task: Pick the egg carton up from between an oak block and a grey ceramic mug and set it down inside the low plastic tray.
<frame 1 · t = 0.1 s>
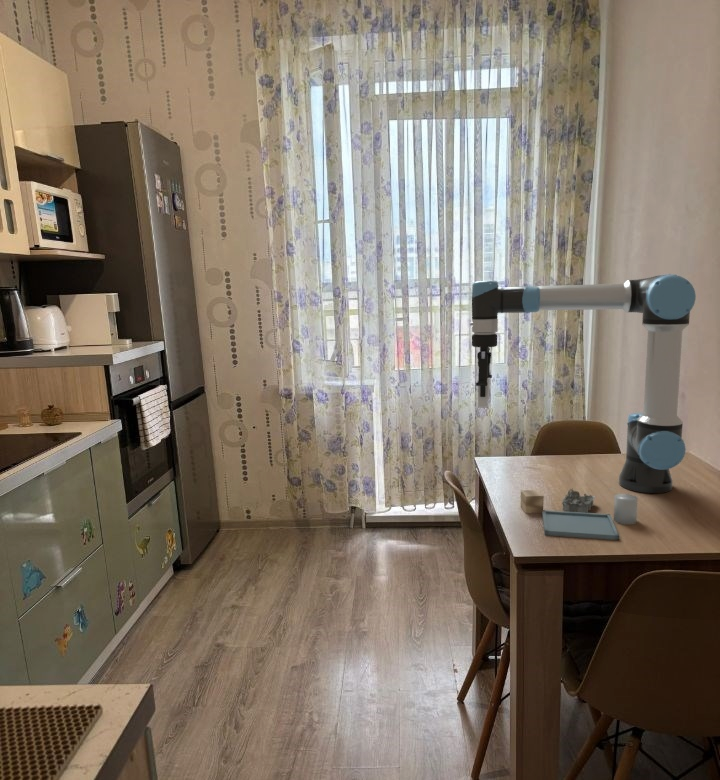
hand: (484, 403, 183), 28 cm above the table, fingers open, 13 cm apart
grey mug: (625, 520, 161), on the table
tray: (578, 526, 158), on the table
oak block: (531, 509, 171), on the table
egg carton: (578, 508, 172), on the table
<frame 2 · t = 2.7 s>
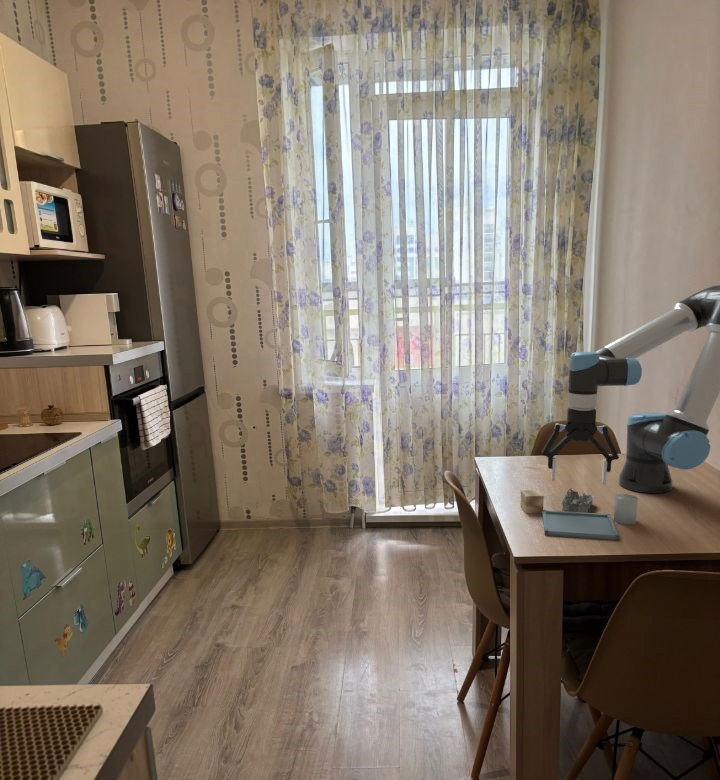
hand: (578, 481, 170), 8 cm above the table, fingers open, 13 cm apart
nothing on the table moved.
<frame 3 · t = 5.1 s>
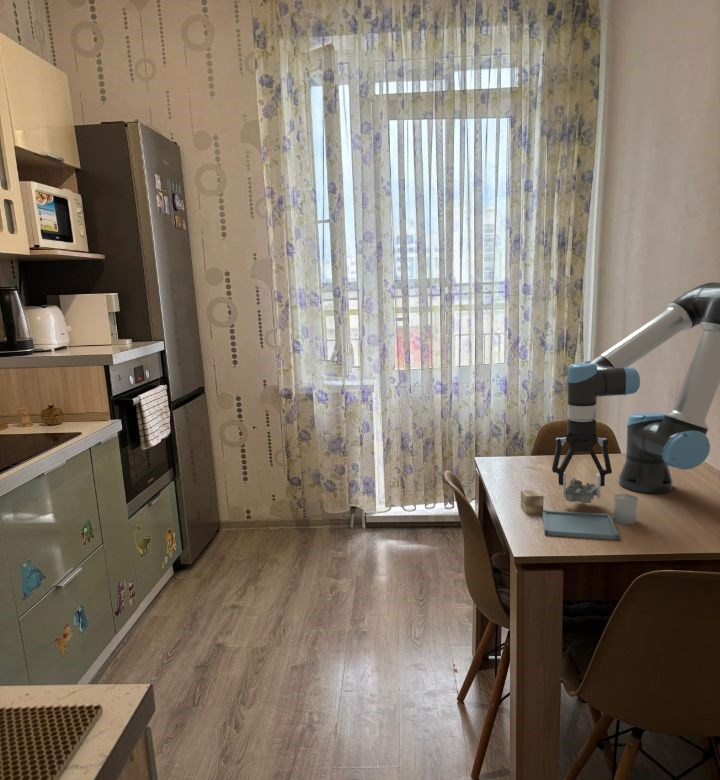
hand: (581, 496, 171), 3 cm above the table, fingers closed on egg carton, 8 cm apart
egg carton: (581, 498, 171), point 3 cm above the table, touching gripper
everything else where it was.
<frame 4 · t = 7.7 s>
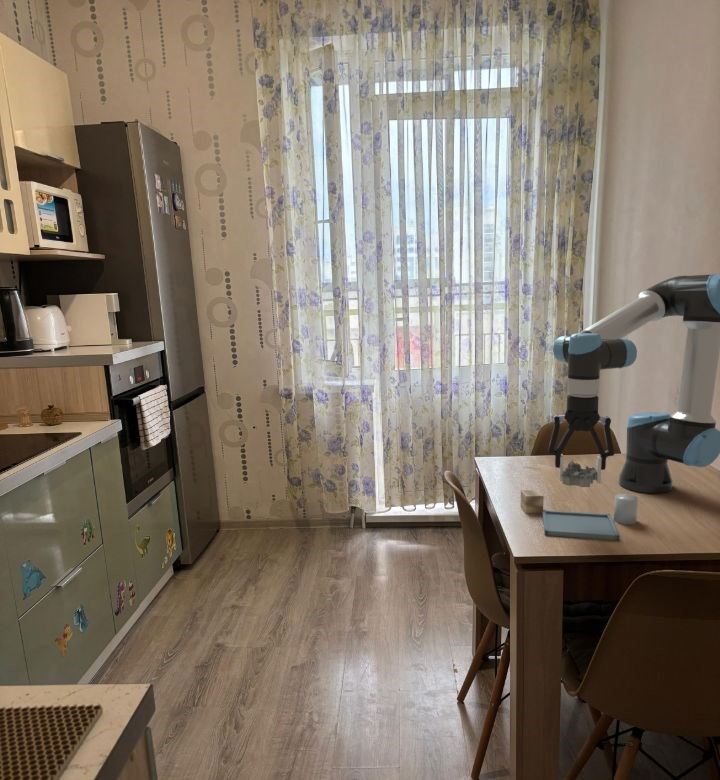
hand: (579, 480, 156), 13 cm above the table, fingers closed on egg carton, 8 cm apart
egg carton: (579, 482, 156), point 12 cm above the table, touching gripper
everything else where it was.
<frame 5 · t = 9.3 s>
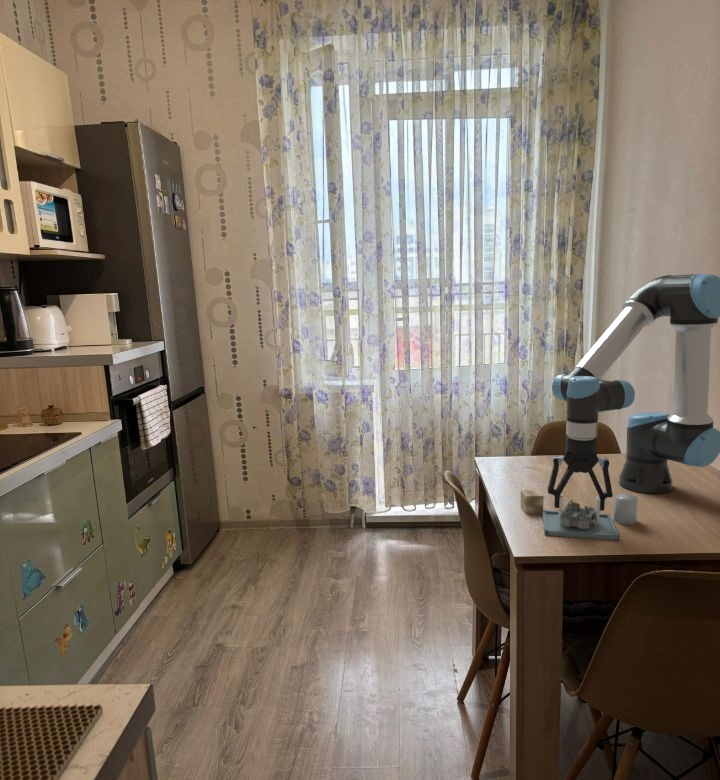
hand: (578, 520, 158), 2 cm above the table, fingers closed on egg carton, 8 cm apart
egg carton: (578, 522, 158), point 1 cm above the table, touching gripper
everything else where it was.
when the fingers open (2 cm above the table, at t = 10.4 s): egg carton stays where it is, resting on tray.
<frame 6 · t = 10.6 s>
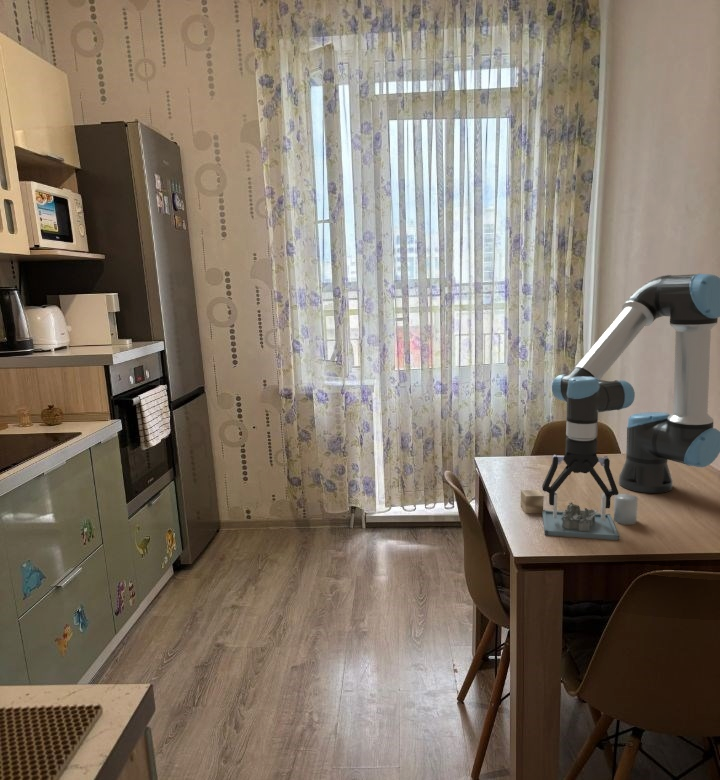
hand: (578, 518, 158), 2 cm above the table, fingers open, 11 cm apart
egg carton: (579, 524, 158), resting on tray
everything else where it was.
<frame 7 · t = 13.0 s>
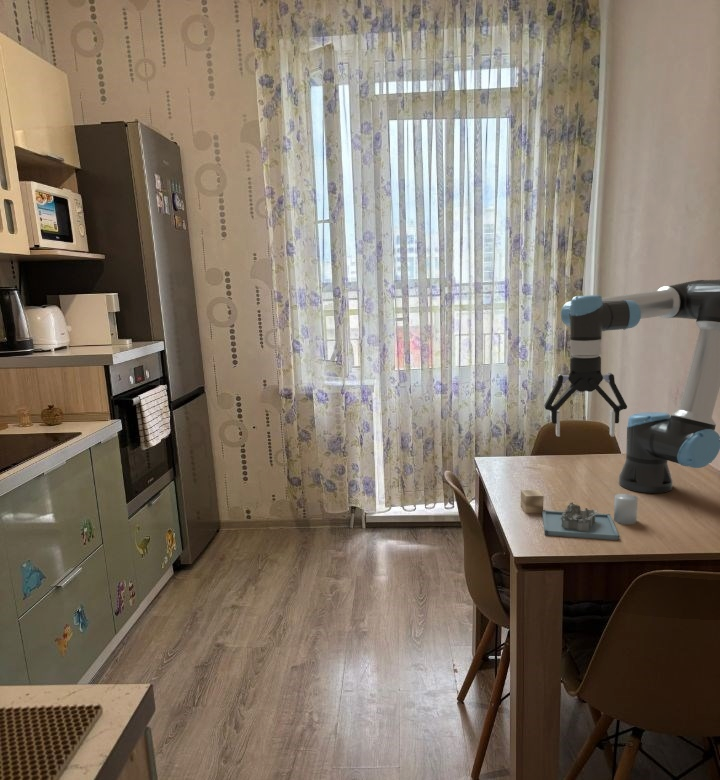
hand: (584, 435, 159), 23 cm above the table, fingers open, 13 cm apart
nothing on the table moved.
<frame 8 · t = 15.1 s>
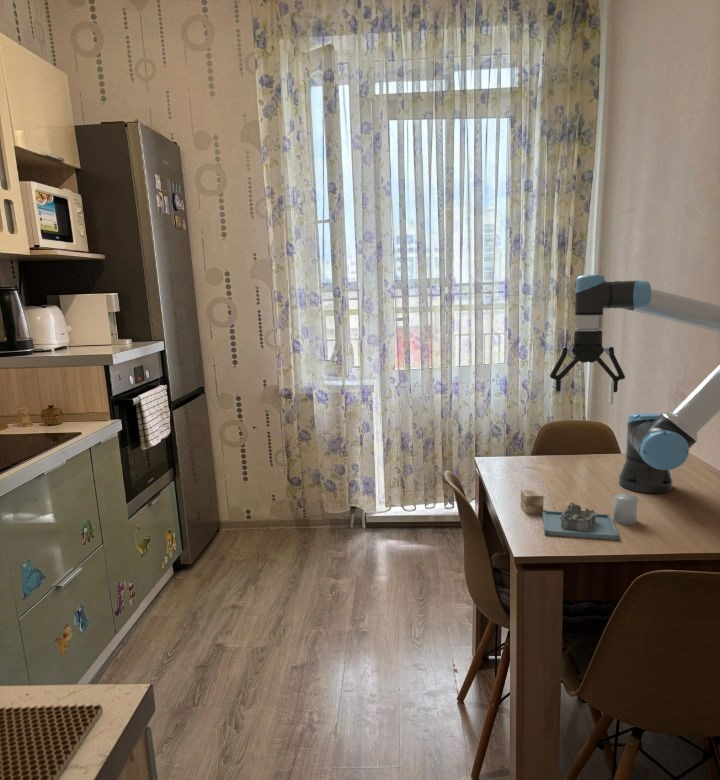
hand: (585, 402, 175), 29 cm above the table, fingers open, 13 cm apart
nothing on the table moved.
at the end: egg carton inside the target area on the tray (0.3 cm from its centre), point 0.4 cm above the tray's base; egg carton touching tray; the gripper is holding nothing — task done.
